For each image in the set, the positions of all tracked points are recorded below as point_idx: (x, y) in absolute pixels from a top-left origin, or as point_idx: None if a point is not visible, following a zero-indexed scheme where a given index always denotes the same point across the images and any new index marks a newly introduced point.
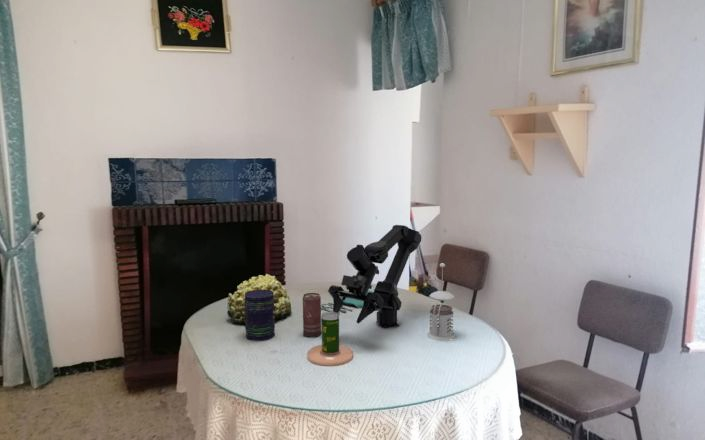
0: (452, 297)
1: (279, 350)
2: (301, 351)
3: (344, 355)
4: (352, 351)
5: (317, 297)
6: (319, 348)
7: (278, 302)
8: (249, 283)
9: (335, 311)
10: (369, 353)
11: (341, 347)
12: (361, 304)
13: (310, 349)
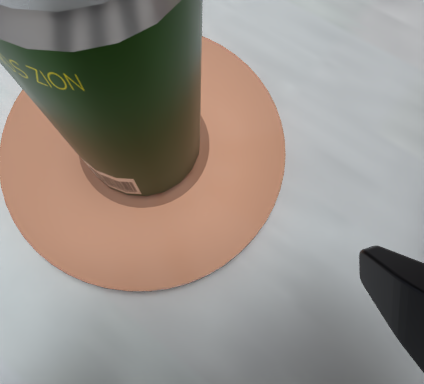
0: None
1: (385, 10)
2: (308, 79)
3: (47, 182)
4: (57, 263)
5: None
6: (240, 133)
7: None
8: None
9: (414, 299)
10: (3, 378)
11: (162, 248)
12: None
13: (259, 87)
